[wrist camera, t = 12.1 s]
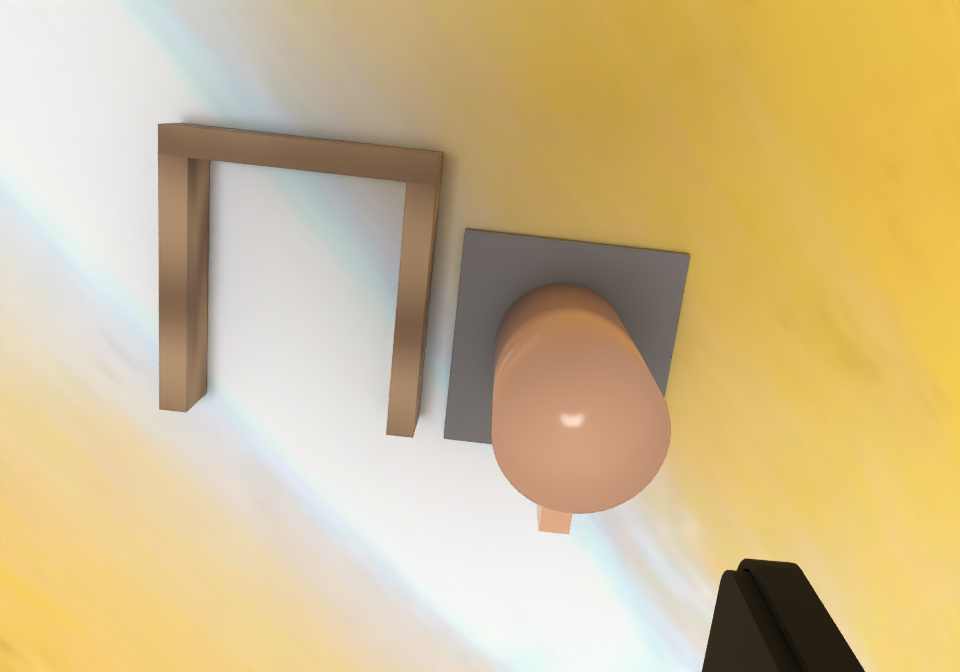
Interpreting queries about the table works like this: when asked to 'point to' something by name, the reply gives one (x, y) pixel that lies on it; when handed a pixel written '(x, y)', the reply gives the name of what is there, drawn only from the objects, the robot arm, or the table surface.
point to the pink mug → (574, 405)
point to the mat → (542, 261)
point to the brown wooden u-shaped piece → (187, 247)
